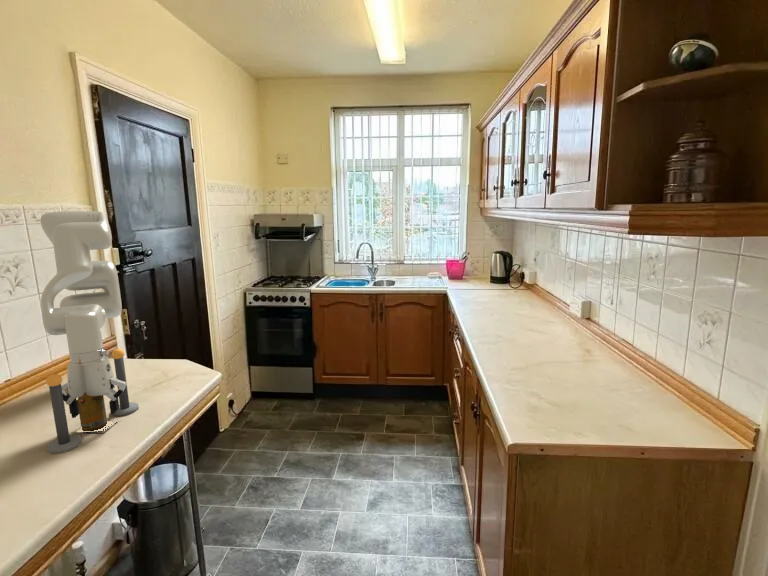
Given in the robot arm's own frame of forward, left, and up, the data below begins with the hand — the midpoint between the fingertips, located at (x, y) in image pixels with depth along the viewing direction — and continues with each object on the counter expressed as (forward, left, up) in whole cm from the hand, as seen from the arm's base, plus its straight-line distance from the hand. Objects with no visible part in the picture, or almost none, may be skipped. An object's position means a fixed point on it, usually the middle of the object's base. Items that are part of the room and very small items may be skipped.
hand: (95, 413), depth 120 cm
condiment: (0, 0, -4) cm, 4 cm away
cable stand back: (-9, +4, -4) cm, 11 cm away
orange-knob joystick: (+9, -4, -4) cm, 11 cm away
